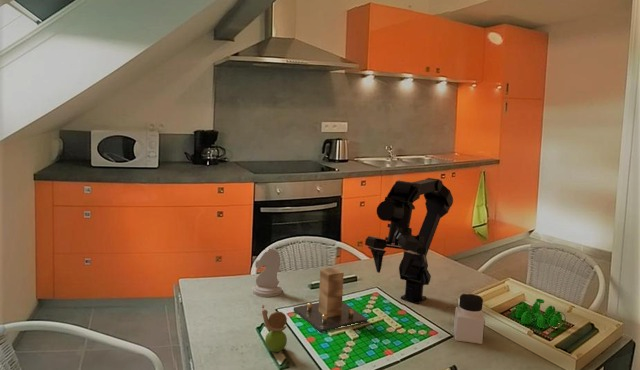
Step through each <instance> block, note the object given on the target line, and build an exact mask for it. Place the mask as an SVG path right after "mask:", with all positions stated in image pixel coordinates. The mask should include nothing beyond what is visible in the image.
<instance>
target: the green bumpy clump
mask: <svg viewBox="0 0 640 370" xmlns="http://www.w3.org/2000/svg"><path fill="white" fill-rule="evenodd" d="M544 303H545V300H544V299H542V298H536V299H535V301H534V303H533V304H532V307H531V309H530V306H529V304H528V303H527V302H525V301H519V302H518V303H517V305H515V306H513V308H512V309H511V315H512V317H513V318H514V316H515V317H516V319H520V318H521V319H520V323H521V324H522V325H523V324H524V325H530V324H531V322H532V320H533V318H537V321H536V327H537V326H538V327H541V328H543V327H544V328H545V327H546V322H547V325H548V324H550V326H553V327H558V328H560V329H561V328H562V325H561V323H564V324H565V322H566V321H567V317H566V315H565V313H563V312H562V311H560V310H559V311H558V310H556V308H555V306H553V305H548V306H547V308H545V311H544V313H540V311H541V305H542V304H544ZM515 308H516V309H515ZM514 310H515V312H514ZM514 313H515V315H514ZM562 315H563V316H564V320H563V316H562ZM547 318H548V319H547ZM546 320H547V321H546ZM562 321H563V322H562ZM558 323H560V325H559V324H558ZM538 327H537V328H538Z"/></svg>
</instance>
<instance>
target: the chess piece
mask: <svg viewBox="0 0 640 370" xmlns="http://www.w3.org/2000/svg"><path fill="white" fill-rule="evenodd" d="M254 265H255V268H257V270H261V268H262V267H265V268H264V269H263V270H262V271H261V272H260V273H259V274H258V276H257V277H256V279H255V283H256V284H255V285H254V286H253V287H252V289H251V290H252V291H251V292H252V294H253V295H255V296H257V297H261V298H272V297H276V296H279V295H281V294H282V292H283V289H282V287H281V285H280V284H279V283H280V281H279V280H278V271H279V269H280V266H281V256H280V253H279V251H278V250H277V249H276V248H274V247H269V248H268V250H266V251H264V253H263V254H262V255H261V257H260V259H258V260H256V261H255V264H254Z"/></svg>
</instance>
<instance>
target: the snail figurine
mask: <svg viewBox="0 0 640 370" xmlns="http://www.w3.org/2000/svg"><path fill="white" fill-rule="evenodd" d="M261 306H262V310H261V313H262V318H263V322H264V325H265V327H266V328H267V330H270V331H268V333H267V334H266V336H265V340H264V343H265V347H266V348H267V349H268V350H269V351H271V352H274V353H278V351H279V352H281V351H282V350H283V349H285V347H286V346H287V343H288V342H287V341H288V339H287V335H286V333H285V332H284V330H286V329H287V326H286V324H287V322H288V318H287V316H286V314H285V313H284V312H281V311H279V310H278V311H273V312H272V313H271V314H270V315H269V317H268V312H269V311H268V310H267V309H265V305H264V304H262V305H261Z"/></svg>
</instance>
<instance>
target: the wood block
mask: <svg viewBox="0 0 640 370" xmlns="http://www.w3.org/2000/svg"><path fill="white" fill-rule="evenodd" d="M319 270H320V271H319V289H318V291H319V293H318V303H319V312H320V313H321V314H326V315H327V318H328V317H333V316H338V315H341V314H342V302H343V293H344V292H343V290H344V275H345V274H344V271H342V270H340V269H339V268H336V267H334V266H333V267H327V268H321V269H319Z"/></svg>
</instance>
